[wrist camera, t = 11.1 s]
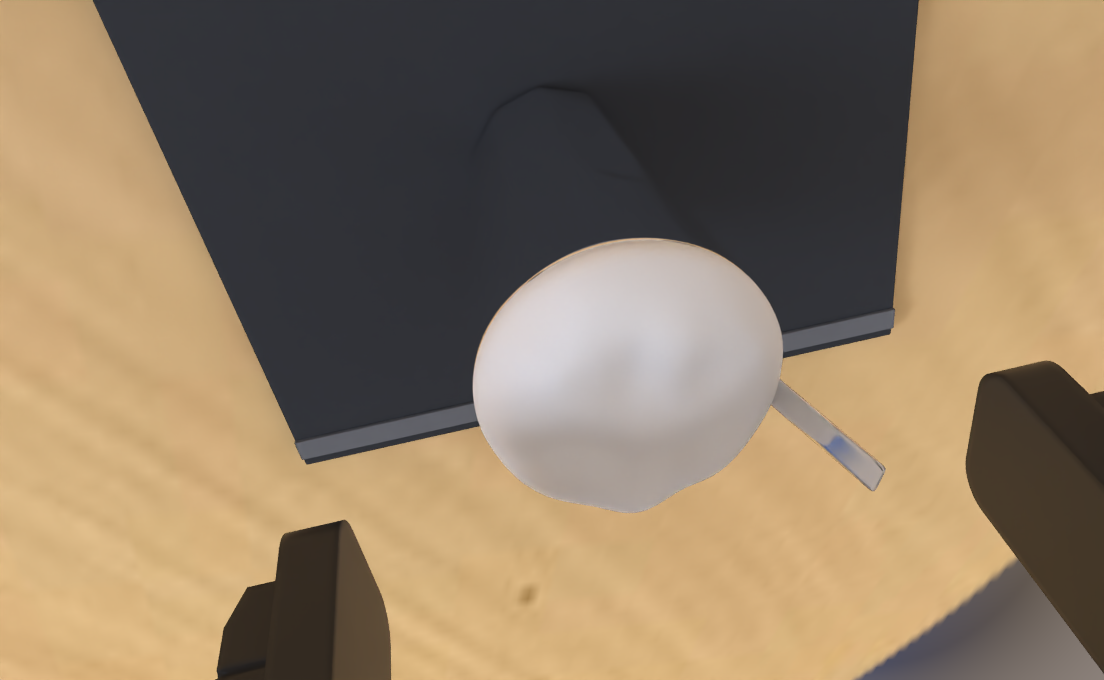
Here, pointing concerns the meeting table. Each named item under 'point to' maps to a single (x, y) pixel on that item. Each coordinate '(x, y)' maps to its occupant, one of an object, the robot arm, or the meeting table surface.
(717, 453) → the milkshake
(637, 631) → the meeting table surface
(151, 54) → the desk pad
